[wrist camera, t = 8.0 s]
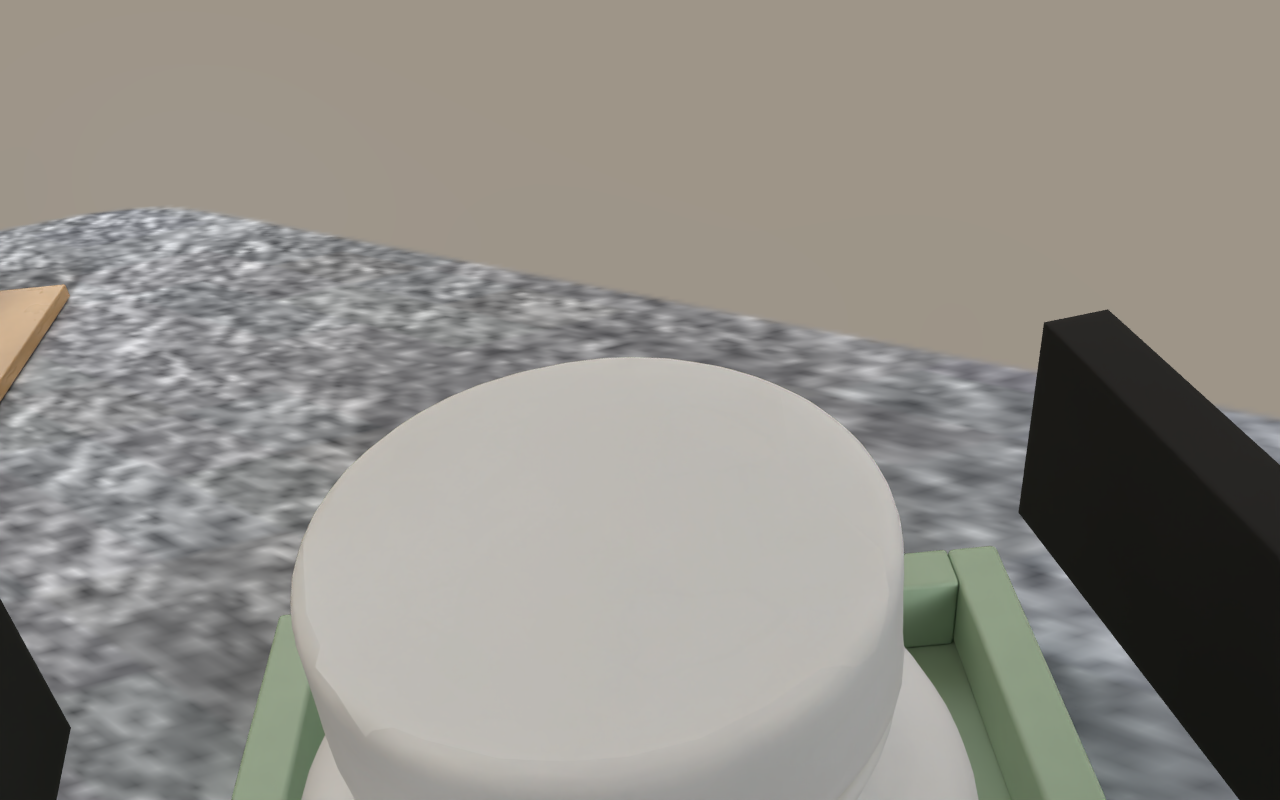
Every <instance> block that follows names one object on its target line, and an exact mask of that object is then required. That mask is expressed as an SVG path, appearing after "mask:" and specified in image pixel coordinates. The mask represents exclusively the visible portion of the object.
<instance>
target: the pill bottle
mask: <svg viewBox="0 0 1280 800" xmlns="http://www.w3.org/2000/svg"><path fill="white" fill-rule="evenodd" d="M903 588H904V544H903V535H902V528H901V522H900V516H899V513H898V511H897V508H896V505H895V502H894V499H893V496H892V493H891V491H890V488H889V485H888V483H887V481H886V480H885V478H884V476H883V474H882V473H881V471H880V469H879V467H878V466H877V464H876V462H875V461H874V460H873V458H872V457H871V456H870V454H869V453H868V452H867V450H866V449H865V448H864V446H863V445H862V444H861V443H860V442H859V441H858V440H857V439H856V438H855V437H854V436H853V435H852V434H851V433H850V432H849V431H848V430H847V429H846V428H845V427H844V426H843V425H841V424H840V423H839V422H838V421H837V420H836V419H834V418H833V417H831V416H830V415H829V414H827V413H826V412H824V411H823V410H822V409H820V408H819V407H817V406H816V405H815V404H813V403H812V402H810V401H808V400H807V399H805V398H803V397H801V396H799V395H797V394H795V393H793V392H791V391H789V390H787V389H784V388H782V387H780V386H778V385H776V384H773V383H771V382H768V381H766V380H763V379H761V378H758V377H755V376H752V375H748V374H745V373H742V372H738V371H735V370H731V369H727V368H723V367H719V366H714V365H708V364H702V363H696V362H689V361H682V360H675V359H668V358H636V357H622V358H602V359H593V360H585V361H576V362H568V363H563V364H558V365H553V366H548V367H543V368H539V369H534V370H529V371H525V372H520V373H516V374H513V375H510V376H506V377H503V378H500V379H497V380H493V381H490V382H487V383H483V384H480V385H478V386H475V387H473V388H470V389H468V390H465V391H463V392H461V393H458V394H456V395H453V396H451V397H448V398H446V399H445V400H443V401H441V402H439V403H437V404H435V405H433V406H431V407H429V408H428V409H426V410H424V411H422V412H420V413H418V414H417V415H415V416H414V417H412V418H410V419H409V420H407V421H406V422H404V423H403V424H401V425H400V426H398V427H397V428H396V429H394V430H393V431H392V432H390V433H389V434H388V435H386V436H385V437H384V438H383V439H381V440H380V441H379V442H377V443H376V444H375V445H373V446H372V447H371V448H370V449H369V450H367V451H366V452H365V453H364V454H363V455H362V456H361V457H360V458H359V459H358V460H356V461H355V462H354V463H353V464H352V465H351V466H350V467H349V468H348V469H347V470H346V471H345V472H344V473H343V474H342V476H341V477H340V478H339V480H338V481H337V482H336V483H335V485H334V486H333V487H332V488H331V490H330V491H329V493H328V494H327V496H326V497H325V499H324V500H323V502H322V503H321V505H320V506H319V507H318V509H317V510H316V512H315V513H314V515H313V517H312V520H311V522H310V524H309V526H308V528H307V530H306V533H305V535H304V537H303V539H302V542H301V545H300V549H299V552H298V555H297V559H296V563H295V568H294V572H293V576H292V587H291V622H292V630H293V633H294V637H295V644H296V648H297V651H298V654H299V656H300V659H301V662H302V665H303V668H304V671H305V674H306V677H307V680H308V683H309V686H310V689H311V692H312V695H313V698H314V701H315V704H316V707H317V711H318V714H319V717H320V720H321V724H322V727H323V730H324V733H325V736H324V738H323V740H322V742H321V745H320V747H319V749H318V751H317V753H316V755H315V758H314V760H313V763H312V765H311V768H310V770H309V773H308V777H307V780H306V784H305V788H304V791H303V795H302V799H301V800H979V799H978V794H977V789H976V783H975V778H974V773H973V770H972V767H971V764H970V761H969V758H968V755H967V752H966V749H965V746H964V743H963V741H962V738H961V736H960V733H959V731H958V728H957V726H956V724H955V722H954V720H953V718H952V716H951V714H950V712H949V710H948V708H947V706H946V704H945V703H944V701H943V699H942V698H941V696H940V695H939V693H938V691H937V690H936V688H935V687H934V685H933V684H932V682H931V681H930V680H929V678H928V677H927V676H926V674H925V673H924V671H923V670H922V669H921V667H920V666H919V665H918V663H917V662H916V660H915V659H914V658H913V656H912V655H911V654H910V653H909V652H908V650H907V649H906V648H905V647H904V641H903Z"/></svg>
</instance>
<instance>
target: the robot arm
mask: <svg viewBox="0 0 1280 800" xmlns="http://www.w3.org/2000/svg"><path fill="white" fill-rule="evenodd" d="M1019 514H1020V515H1021V516H1022V518H1023V519H1024V520H1025V521H1026V523H1027V524H1028V525H1029V527H1030V528H1031V529H1032V531H1033V532H1034V533H1035V534H1036V536H1037V537H1038V538H1039V540H1040V541H1041V542H1042V544H1043V545H1044V546H1045V547H1046V549H1047V550H1048V551H1049V553H1050V554H1051V555H1052V557H1053V558H1054V559H1055V561H1056V562H1057V563H1058V564H1059V566H1060V567H1061V568H1062V570H1063V571H1064V572H1065V574H1066V575H1067V576H1068V577H1069V579H1070V580H1071V581H1072V583H1073V584H1074V585H1075V587H1076V588H1077V589H1078V590H1079V592H1080V593H1081V594H1082V596H1083V597H1084V598H1085V600H1086V601H1087V602H1088V603H1089V605H1090V606H1091V607H1092V609H1093V610H1094V611H1095V613H1096V614H1097V615H1098V616H1099V618H1100V619H1101V620H1102V622H1103V623H1104V624H1105V626H1106V627H1107V628H1108V629H1109V631H1110V632H1111V633H1112V635H1113V636H1114V637H1115V639H1116V640H1117V641H1118V642H1119V644H1120V645H1121V646H1122V648H1123V649H1124V650H1125V652H1126V653H1127V654H1128V655H1129V657H1130V658H1131V659H1132V661H1133V662H1134V663H1135V665H1136V666H1137V667H1138V668H1139V670H1140V671H1141V672H1142V674H1143V675H1144V676H1145V678H1146V679H1147V680H1148V681H1149V683H1150V684H1151V685H1152V687H1153V688H1154V689H1155V691H1156V692H1157V693H1158V694H1159V696H1160V697H1161V698H1162V700H1163V701H1164V702H1165V704H1166V705H1167V706H1168V707H1169V709H1170V710H1171V711H1172V713H1173V714H1174V715H1175V717H1176V718H1177V719H1178V720H1179V722H1180V723H1181V724H1182V726H1183V727H1184V728H1185V730H1186V731H1187V732H1188V733H1189V735H1190V736H1191V737H1192V739H1193V740H1194V741H1195V743H1196V744H1197V745H1198V746H1199V748H1200V749H1201V750H1202V752H1203V753H1204V754H1205V756H1206V757H1207V758H1208V760H1209V761H1210V762H1211V763H1212V765H1213V766H1214V767H1215V769H1216V770H1217V771H1218V773H1219V774H1220V775H1221V776H1222V778H1223V779H1224V780H1225V782H1226V783H1227V784H1228V786H1229V787H1230V788H1231V789H1232V791H1233V792H1234V793H1235V795H1236V796H1237V797H1238V799H1239V800H1280V465H1279V464H1278V463H1277V462H1276V461H1275V460H1274V459H1273V458H1272V457H1270V456H1269V455H1268V454H1267V453H1266V452H1265V451H1264V450H1263V449H1262V448H1260V447H1259V446H1258V445H1257V444H1256V443H1255V442H1254V441H1253V440H1252V439H1251V438H1249V437H1248V436H1247V435H1246V434H1245V433H1244V432H1243V431H1242V430H1241V429H1239V428H1238V427H1237V426H1236V425H1235V424H1234V423H1233V422H1232V421H1231V420H1230V419H1228V418H1227V417H1226V416H1225V415H1224V414H1223V413H1222V412H1221V411H1220V410H1218V409H1217V408H1216V407H1215V406H1214V405H1213V404H1212V403H1211V402H1210V401H1209V400H1207V399H1206V398H1205V397H1204V396H1203V395H1202V394H1201V393H1200V392H1199V391H1197V390H1196V389H1195V388H1194V387H1193V386H1192V385H1191V384H1190V383H1189V382H1188V381H1186V380H1185V379H1184V378H1183V377H1182V376H1181V375H1180V374H1178V373H1177V372H1176V371H1175V370H1174V369H1173V368H1172V367H1171V366H1170V365H1169V364H1168V363H1166V362H1165V361H1164V360H1163V359H1162V358H1161V357H1160V356H1159V355H1158V354H1157V353H1155V352H1154V351H1153V350H1152V349H1151V348H1150V347H1149V346H1148V345H1147V344H1146V343H1144V342H1143V341H1142V340H1141V339H1140V338H1139V337H1138V336H1136V335H1135V334H1134V333H1133V332H1132V331H1131V330H1130V329H1129V328H1128V327H1127V326H1126V325H1124V324H1123V323H1122V322H1121V321H1120V320H1119V319H1118V318H1117V317H1116V316H1115V315H1113V314H1112V313H1111V312H1110V311H1109V310H1103V311H1099V312H1094V313H1088V314H1084V315H1079V316H1074V317H1069V318H1064V319H1059V320H1054V321H1050V322H1045V323H1044V328H1043V335H1042V342H1041V350H1040V357H1039V364H1038V372H1037V379H1036V387H1035V394H1034V401H1033V409H1032V416H1031V424H1030V431H1029V439H1028V446H1027V454H1026V461H1025V468H1024V476H1023V483H1022V491H1021V498H1020V506H1019ZM70 729H71V727H70V725H69V724H68V722H67V720H66V718H65V716H64V714H63V713H62V711H61V709H60V707H59V705H58V703H57V702H56V700H55V698H54V696H53V694H52V693H51V691H50V689H49V687H48V685H47V683H46V682H45V680H44V678H43V676H42V674H41V672H40V671H39V669H38V667H37V665H36V663H35V661H34V660H33V658H32V656H31V654H30V652H29V651H28V649H27V647H26V645H25V643H24V641H23V640H22V638H21V636H20V634H19V632H18V630H17V629H16V627H15V625H14V623H13V621H12V619H11V618H10V616H9V614H8V612H7V610H6V609H5V607H4V605H3V603H2V601H1V599H0V800H56V799H57V794H58V789H59V784H60V779H61V774H62V769H63V764H64V759H65V754H66V749H67V744H68V739H69V734H70Z"/></svg>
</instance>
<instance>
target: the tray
mask: <svg viewBox="0 0 1280 800" xmlns="http://www.w3.org/2000/svg"><path fill="white" fill-rule="evenodd" d="M903 641H904V647H905V648H906V649H907V650H908V652H909V653H910V654H911V655H912V656H913V658H914V659H915V660H916V662H917V663H918V665H919V666H920V667H921V669H922V670H923V671H924V673H925V674H926V676H927V677H928V678H929V680H930V681H931V682H932V684H933V685H934V687H935V688H936V690H937V691H938V693H939V695H940V696H941V698H942V699H943V701H944V703H945V704H946V706H947V708H948V710H949V712H950V714H951V716H952V718H953V720H954V722H955V724H956V726H957V728H958V731H959V733H960V736H961V738H962V741H963V743H964V746H965V749H966V752H967V755H968V758H969V761H970V764H971V767H972V770H973V773H974V778H975V783H976V789H977V794H978V799H979V800H1106V798H1105V796H1104V793H1103V791H1102V789H1101V787H1100V784H1099V782H1098V780H1097V777H1096V775H1095V773H1094V771H1093V768H1092V766H1091V764H1090V762H1089V759H1088V757H1087V755H1086V752H1085V750H1084V748H1083V746H1082V743H1081V741H1080V739H1079V736H1078V734H1077V732H1076V730H1075V727H1074V725H1073V723H1072V721H1071V718H1070V716H1069V714H1068V711H1067V709H1066V707H1065V705H1064V702H1063V700H1062V698H1061V695H1060V693H1059V691H1058V689H1057V686H1056V684H1055V682H1054V679H1053V677H1052V675H1051V673H1050V670H1049V668H1048V666H1047V664H1046V661H1045V659H1044V657H1043V654H1042V652H1041V650H1040V648H1039V645H1038V643H1037V641H1036V638H1035V636H1034V634H1033V632H1032V629H1031V627H1030V625H1029V623H1028V620H1027V618H1026V616H1025V613H1024V611H1023V609H1022V607H1021V604H1020V602H1019V600H1018V597H1017V595H1016V593H1015V591H1014V588H1013V586H1012V584H1011V581H1010V579H1009V577H1008V575H1007V572H1006V570H1005V568H1004V566H1003V563H1002V561H1001V559H1000V556H999V554H998V552H997V550H996V548H995V547H993V546H986V547H976V548H965V549H955V550H951V551H949V553H948V555H947V552H946V551H944V550H939V551H929V552H918V553H908V554H904V588H903ZM324 736H325V733H324V730H323V727H322V724H321V720H320V717H319V714H318V711H317V707H316V704H315V701H314V698H313V695H312V692H311V689H310V686H309V683H308V680H307V677H306V674H305V671H304V668H303V665H302V662H301V659H300V656H299V654H298V651H297V648H296V644H295V637H294V633H293V630H292V622H291V614H290V615H283V616H281V617H280V618H279V621H278V625H277V628H276V632H275V636H274V640H273V644H272V647H271V651H270V655H269V659H268V662H267V666H266V670H265V674H264V678H263V681H262V685H261V689H260V693H259V697H258V700H257V704H256V708H255V712H254V716H253V719H252V723H251V727H250V731H249V734H248V738H247V742H246V746H245V750H244V753H243V757H242V761H241V765H240V769H239V772H238V776H237V780H236V784H235V788H234V791H233V795H232V799H231V800H301V799H302V795H303V791H304V788H305V784H306V780H307V777H308V773H309V770H310V768H311V765H312V763H313V760H314V758H315V755H316V753H317V751H318V749H319V747H320V745H321V742H322V740H323V738H324Z"/></svg>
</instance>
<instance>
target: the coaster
mask: <svg viewBox="0 0 1280 800" xmlns="http://www.w3.org/2000/svg"><path fill="white" fill-rule="evenodd" d="M69 297H70V295H69V293H68V290H67V288H66V286H65V285H54V286H44V287H34V288H24V289H14V290H3V291H0V401H1V400H2V398H3V397H4V395H5V394H6V392H7V391H8V389H9V388H10V386H11V385H12V383H13V382H14V380H15V379H16V377H17V376H18V374H19V373H20V371H21V370H22V368H23V367H24V365H25V364H26V362H27V361H28V359H29V358H30V356H31V355H32V353H33V351H34V350H35V348H36V347H37V345H38V344H39V342H40V341H41V339H42V338H43V336H44V335H45V333H46V332H47V330H48V329H49V327H50V326H51V324H52V323H53V321H54V320H55V318H56V317H57V315H58V314H59V312H60V311H61V309H62V308H63V306H64V305H65V303H66V301H67V300H68V298H69Z"/></svg>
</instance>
